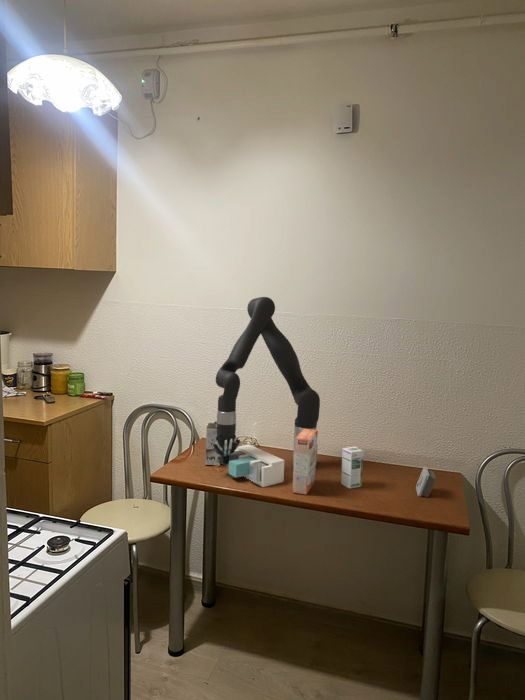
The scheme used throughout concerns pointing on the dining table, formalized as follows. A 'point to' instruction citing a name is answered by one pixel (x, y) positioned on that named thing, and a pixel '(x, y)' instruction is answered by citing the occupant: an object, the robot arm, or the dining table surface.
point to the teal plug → (240, 466)
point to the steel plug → (256, 471)
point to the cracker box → (304, 461)
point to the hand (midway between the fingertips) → (225, 464)
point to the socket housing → (268, 473)
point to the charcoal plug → (235, 456)
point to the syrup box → (352, 467)
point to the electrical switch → (425, 482)
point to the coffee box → (210, 452)
